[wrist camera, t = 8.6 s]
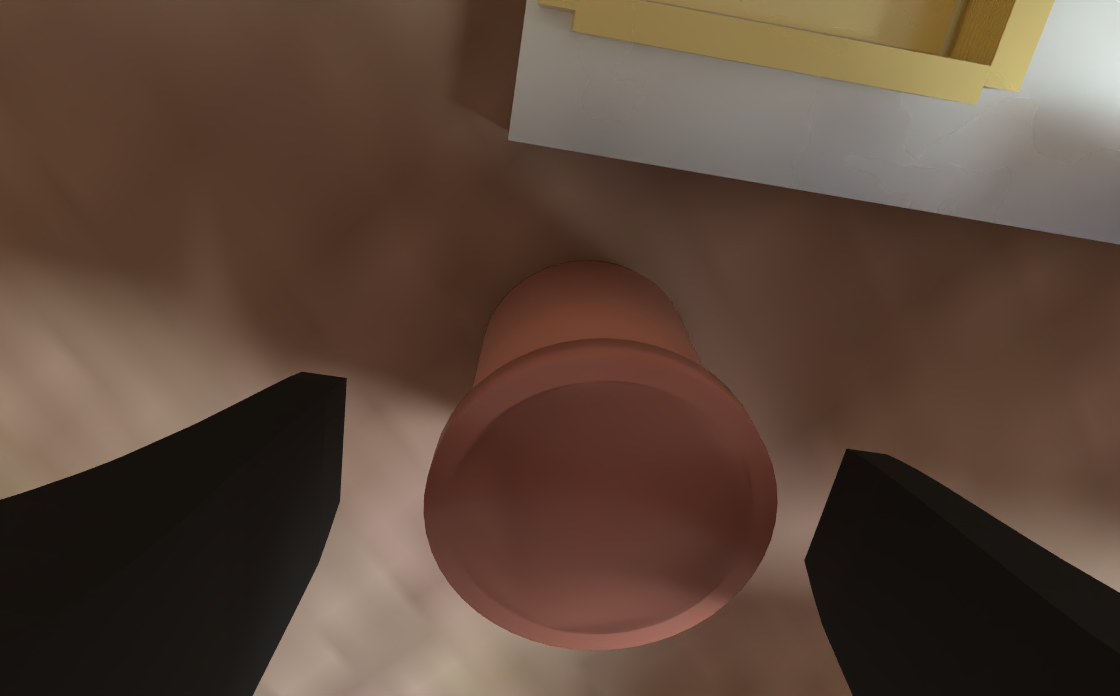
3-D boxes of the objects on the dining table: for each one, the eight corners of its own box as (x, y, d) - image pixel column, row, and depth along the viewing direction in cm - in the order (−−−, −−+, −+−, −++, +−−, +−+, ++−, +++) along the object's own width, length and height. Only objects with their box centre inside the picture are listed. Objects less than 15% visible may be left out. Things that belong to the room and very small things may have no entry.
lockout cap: (729, 266, 13) (824, 387, 9) (673, 474, 15) (726, 667, 10) (481, 226, 13) (442, 331, 8) (454, 444, 15) (409, 629, 10)
